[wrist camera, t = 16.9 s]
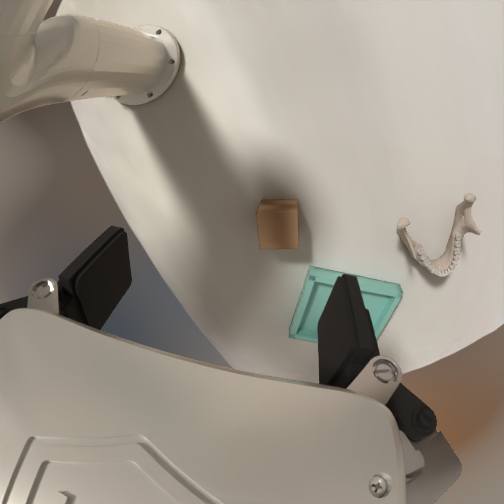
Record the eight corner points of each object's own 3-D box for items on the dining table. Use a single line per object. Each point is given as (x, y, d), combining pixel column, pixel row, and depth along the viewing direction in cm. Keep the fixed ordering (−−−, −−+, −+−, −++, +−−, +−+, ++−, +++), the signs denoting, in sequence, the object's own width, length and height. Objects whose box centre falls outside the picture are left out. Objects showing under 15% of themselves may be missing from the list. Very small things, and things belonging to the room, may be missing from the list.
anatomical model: (404, 282, 40) (417, 301, 31) (385, 219, 40) (395, 221, 30) (468, 256, 35) (494, 268, 26) (451, 194, 35) (476, 189, 26)
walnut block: (264, 232, 41) (259, 248, 36) (261, 199, 38) (256, 213, 34) (298, 231, 40) (298, 248, 36) (297, 199, 37) (297, 212, 33)
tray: (289, 328, 49) (288, 337, 47) (309, 265, 42) (310, 274, 40) (368, 340, 48) (369, 349, 46) (399, 284, 41) (403, 293, 39)
